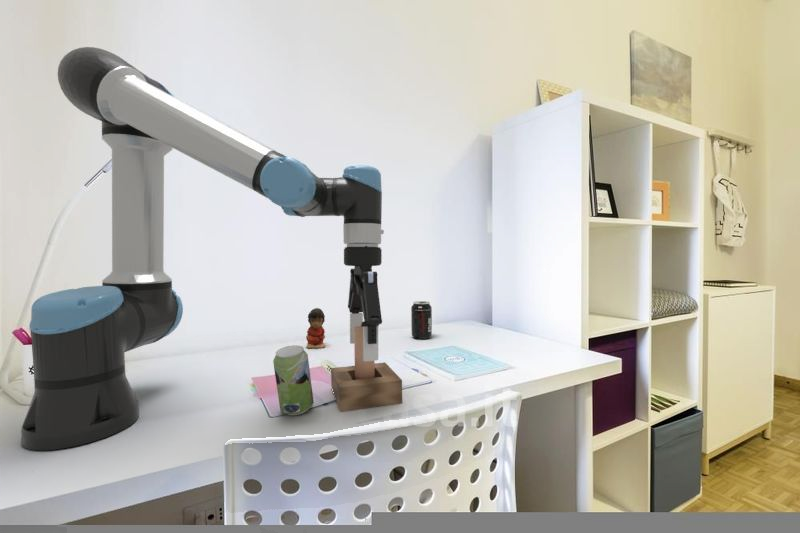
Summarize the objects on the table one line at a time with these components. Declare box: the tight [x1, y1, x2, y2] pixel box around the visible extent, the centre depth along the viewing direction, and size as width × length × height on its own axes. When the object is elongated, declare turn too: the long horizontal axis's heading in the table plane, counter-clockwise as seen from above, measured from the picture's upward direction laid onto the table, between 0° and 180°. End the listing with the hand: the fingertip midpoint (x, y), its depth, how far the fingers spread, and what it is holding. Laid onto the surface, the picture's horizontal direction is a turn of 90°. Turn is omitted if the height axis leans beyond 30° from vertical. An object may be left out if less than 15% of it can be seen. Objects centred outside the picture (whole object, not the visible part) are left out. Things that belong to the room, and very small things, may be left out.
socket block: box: [330, 362, 403, 412], centre depth 76 cm, size 12×12×4 cm
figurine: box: [305, 307, 326, 349], centre depth 115 cm, size 6×6×12 cm
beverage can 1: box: [272, 345, 314, 416], centre depth 69 cm, size 6×7×12 cm
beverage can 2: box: [410, 300, 433, 340], centre depth 126 cm, size 7×7×12 cm
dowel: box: [353, 326, 375, 380], centre depth 76 cm, size 4×4×14 cm
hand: (362, 351), depth 76 cm, fingers open, 13 cm apart
